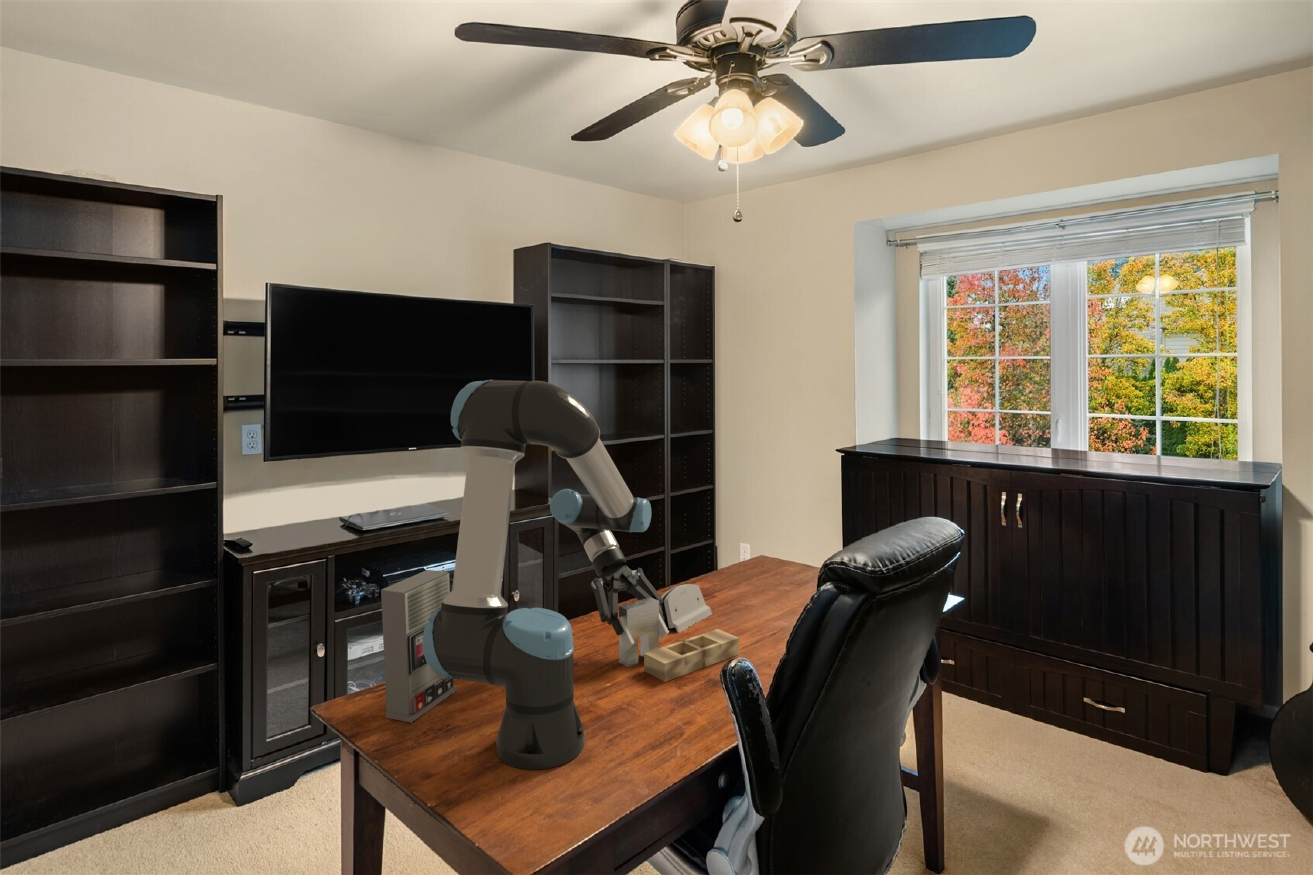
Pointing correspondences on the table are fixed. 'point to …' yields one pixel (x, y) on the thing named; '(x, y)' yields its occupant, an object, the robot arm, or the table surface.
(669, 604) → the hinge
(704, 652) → the beige open box
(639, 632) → the grey notched block
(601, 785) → the table surface
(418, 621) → the cassette tape recorder
